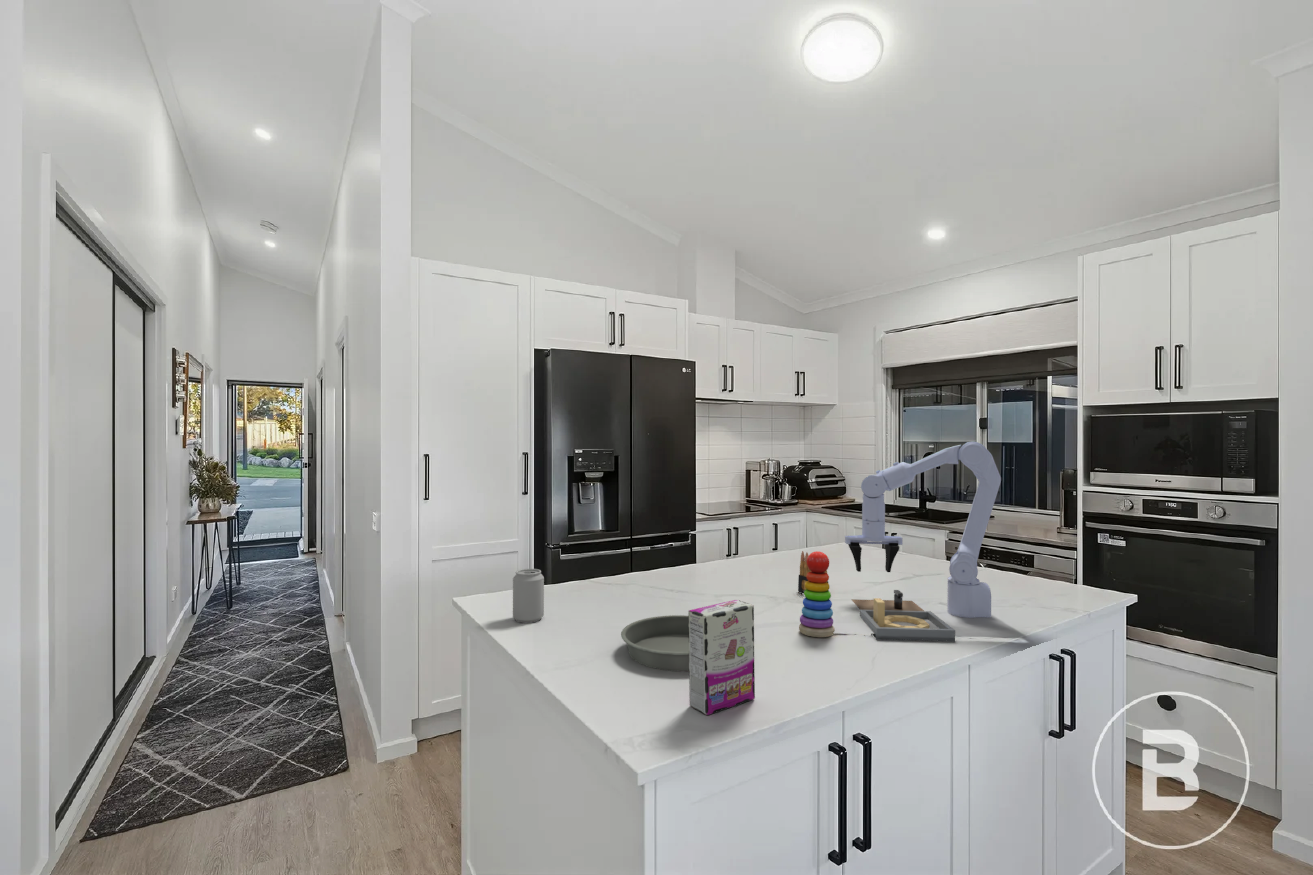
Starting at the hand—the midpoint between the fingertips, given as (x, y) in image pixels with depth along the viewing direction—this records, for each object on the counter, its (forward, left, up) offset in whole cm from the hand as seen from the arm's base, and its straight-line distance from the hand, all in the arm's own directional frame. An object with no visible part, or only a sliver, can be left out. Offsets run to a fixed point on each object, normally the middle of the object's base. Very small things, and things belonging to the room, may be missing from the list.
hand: (873, 571), depth 167 cm
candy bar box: (+42, +63, -10) cm, 77 cm away
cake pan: (+50, +39, -10) cm, 64 cm away
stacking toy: (+19, +24, -10) cm, 32 cm away
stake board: (-3, +4, -9) cm, 11 cm away
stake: (-5, +5, -8) cm, 11 cm away
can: (+88, +19, -10) cm, 91 cm away
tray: (-2, +20, -9) cm, 22 cm away
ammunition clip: (+14, -10, -10) cm, 20 cm away
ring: (-2, +20, -9) cm, 22 cm away
